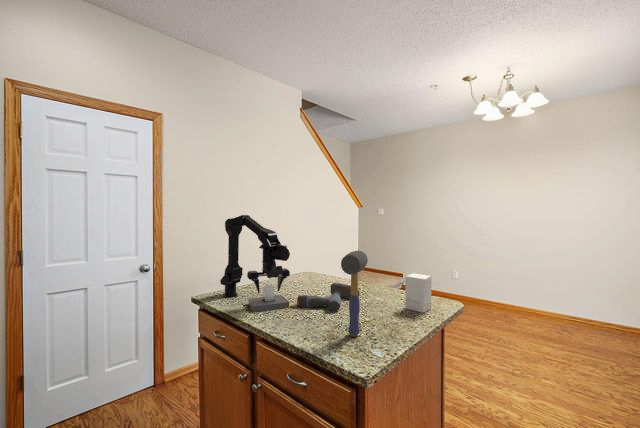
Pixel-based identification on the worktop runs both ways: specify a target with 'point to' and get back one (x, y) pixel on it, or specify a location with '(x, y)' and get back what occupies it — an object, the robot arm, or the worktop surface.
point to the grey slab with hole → (268, 303)
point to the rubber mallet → (354, 286)
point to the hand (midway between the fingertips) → (268, 292)
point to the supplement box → (418, 292)
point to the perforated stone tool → (342, 290)
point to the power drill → (320, 301)
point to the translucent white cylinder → (268, 293)
